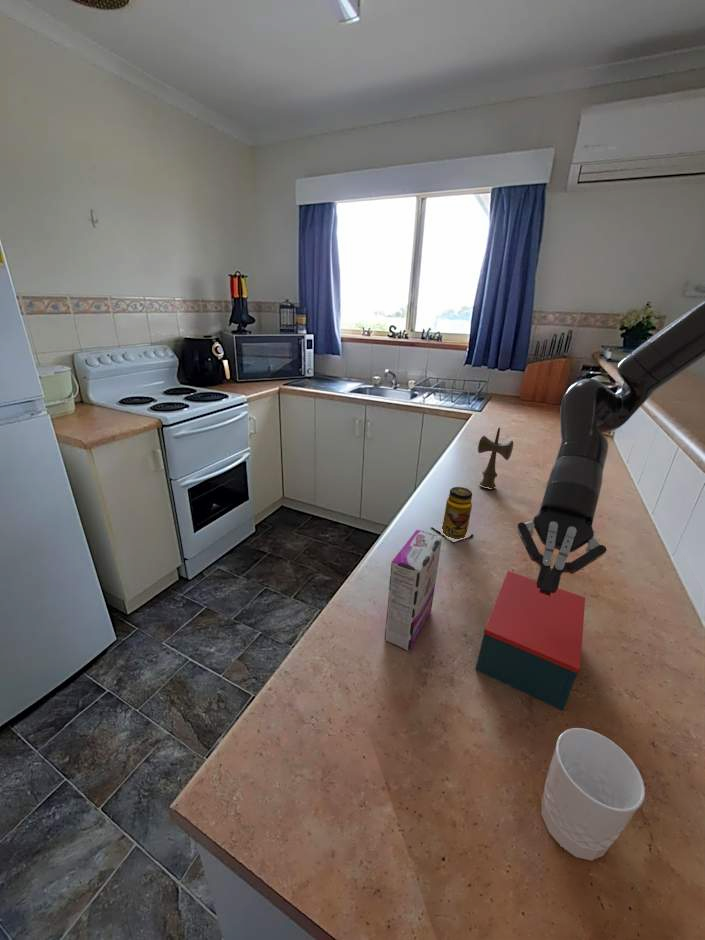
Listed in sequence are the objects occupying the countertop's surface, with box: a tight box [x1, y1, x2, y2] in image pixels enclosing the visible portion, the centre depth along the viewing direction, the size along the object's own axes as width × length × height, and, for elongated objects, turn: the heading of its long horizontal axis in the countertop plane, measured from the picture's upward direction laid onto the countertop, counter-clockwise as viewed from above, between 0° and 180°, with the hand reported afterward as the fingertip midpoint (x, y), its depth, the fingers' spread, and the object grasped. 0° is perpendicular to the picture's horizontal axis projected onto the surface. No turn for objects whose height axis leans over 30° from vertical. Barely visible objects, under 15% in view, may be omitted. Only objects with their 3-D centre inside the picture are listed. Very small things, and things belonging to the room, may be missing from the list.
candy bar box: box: [384, 529, 443, 652], centre depth 67 cm, size 11×5×16 cm, turn 151°
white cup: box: [540, 727, 646, 862], centre depth 42 cm, size 8×8×10 cm
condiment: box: [442, 486, 473, 539], centre depth 98 cm, size 7×8×12 cm
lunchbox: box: [475, 633, 578, 711], centre depth 65 cm, size 17×13×8 cm
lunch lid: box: [483, 570, 586, 675], centre depth 63 cm, size 17×13×1 cm
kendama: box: [477, 427, 514, 488], centre depth 123 cm, size 6×10×20 cm, turn 58°
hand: (545, 593), depth 59 cm, fingers closed
